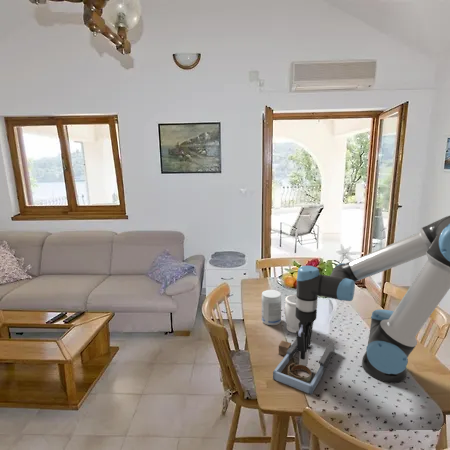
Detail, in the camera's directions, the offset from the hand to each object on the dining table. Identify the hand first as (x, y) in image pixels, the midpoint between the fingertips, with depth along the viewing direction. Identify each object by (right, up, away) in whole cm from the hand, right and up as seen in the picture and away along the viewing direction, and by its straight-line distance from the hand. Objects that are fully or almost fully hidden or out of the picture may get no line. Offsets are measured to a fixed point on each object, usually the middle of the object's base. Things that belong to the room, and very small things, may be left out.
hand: (303, 364), depth 122 cm
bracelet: (-2, -3, -4) cm, 5 cm away
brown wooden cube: (-5, 0, +10) cm, 11 cm away
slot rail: (+5, 0, +8) cm, 9 cm away
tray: (-3, -2, -4) cm, 6 cm away
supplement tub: (-7, +6, +35) cm, 37 cm away
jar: (+3, +4, +28) cm, 29 cm away
